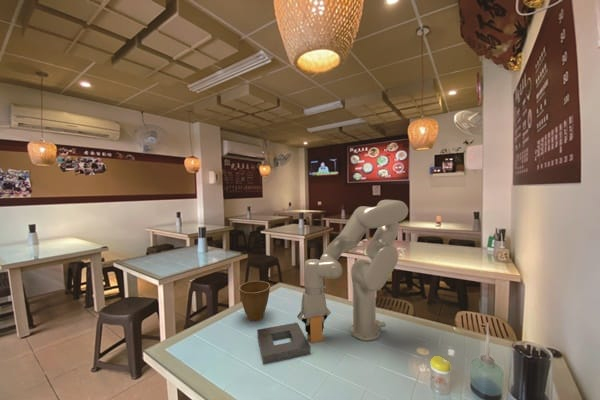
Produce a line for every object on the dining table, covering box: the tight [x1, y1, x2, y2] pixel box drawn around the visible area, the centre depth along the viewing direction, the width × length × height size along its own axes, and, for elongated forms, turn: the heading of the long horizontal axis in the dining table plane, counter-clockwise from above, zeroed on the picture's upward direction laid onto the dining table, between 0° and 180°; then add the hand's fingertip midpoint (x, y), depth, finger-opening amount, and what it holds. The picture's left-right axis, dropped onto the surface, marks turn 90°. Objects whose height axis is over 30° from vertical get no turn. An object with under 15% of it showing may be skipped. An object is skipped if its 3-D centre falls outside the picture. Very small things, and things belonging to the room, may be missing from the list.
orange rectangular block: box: [306, 316, 323, 344], centre depth 105 cm, size 5×5×10 cm
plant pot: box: [238, 280, 271, 322], centre depth 122 cm, size 15×15×16 cm
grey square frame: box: [256, 322, 311, 365], centre depth 101 cm, size 18×18×3 cm
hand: (314, 331), depth 105 cm, fingers closed on orange rectangular block, 5 cm apart
